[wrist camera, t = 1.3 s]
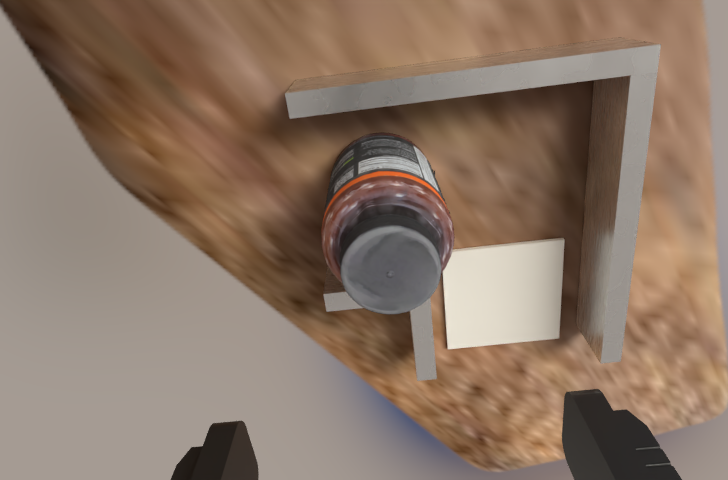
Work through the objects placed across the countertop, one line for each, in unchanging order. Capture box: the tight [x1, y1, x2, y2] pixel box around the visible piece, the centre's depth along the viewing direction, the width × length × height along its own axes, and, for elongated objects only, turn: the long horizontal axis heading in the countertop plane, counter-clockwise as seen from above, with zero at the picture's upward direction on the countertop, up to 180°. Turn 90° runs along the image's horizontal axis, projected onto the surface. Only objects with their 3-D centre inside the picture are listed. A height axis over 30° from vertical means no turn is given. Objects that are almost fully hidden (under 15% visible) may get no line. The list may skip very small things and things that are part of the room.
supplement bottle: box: [321, 133, 454, 314], centre depth 25 cm, size 6×6×11 cm
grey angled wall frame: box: [285, 37, 661, 381], centre depth 29 cm, size 18×17×4 cm
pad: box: [442, 238, 565, 349], centre depth 33 cm, size 8×8×1 cm
